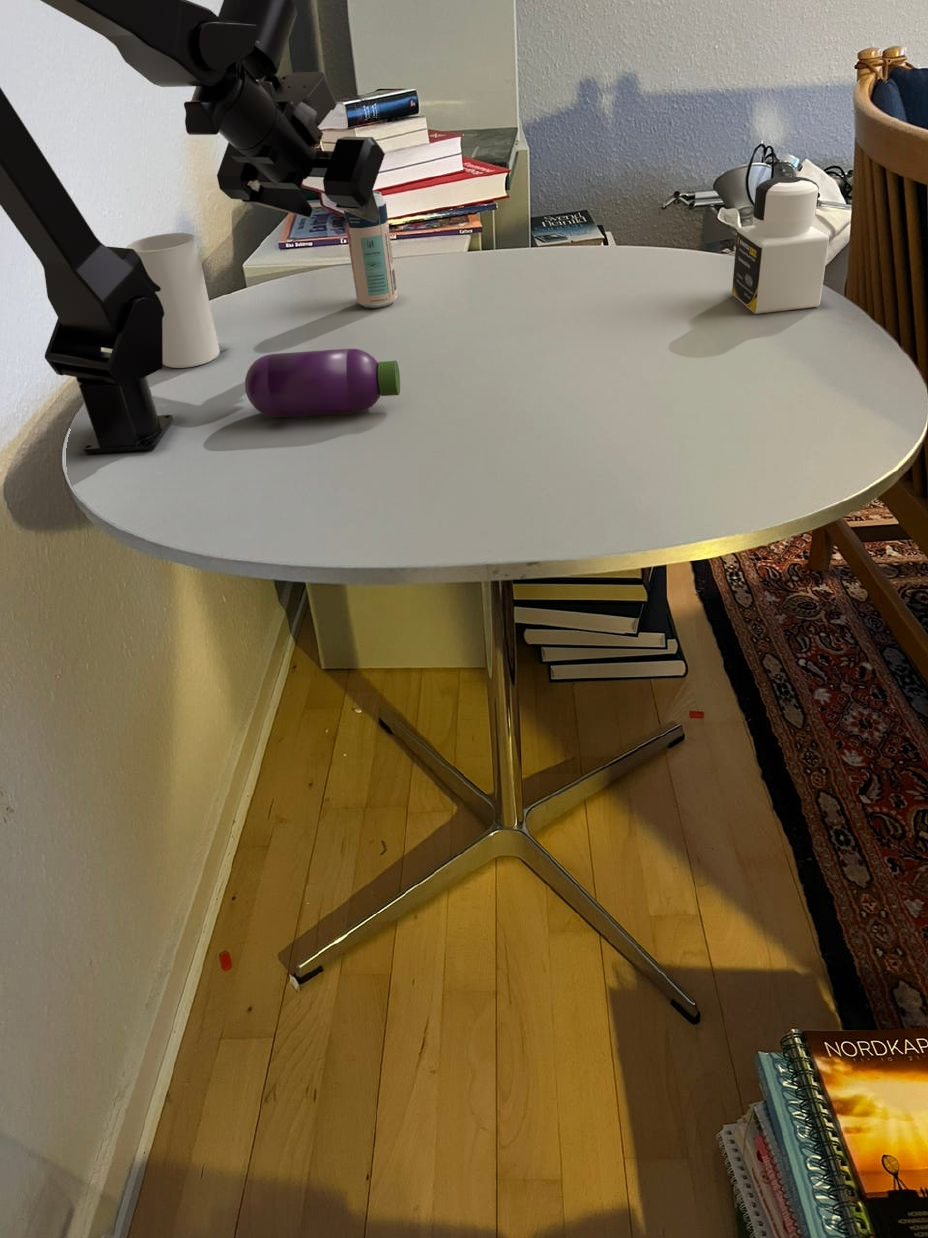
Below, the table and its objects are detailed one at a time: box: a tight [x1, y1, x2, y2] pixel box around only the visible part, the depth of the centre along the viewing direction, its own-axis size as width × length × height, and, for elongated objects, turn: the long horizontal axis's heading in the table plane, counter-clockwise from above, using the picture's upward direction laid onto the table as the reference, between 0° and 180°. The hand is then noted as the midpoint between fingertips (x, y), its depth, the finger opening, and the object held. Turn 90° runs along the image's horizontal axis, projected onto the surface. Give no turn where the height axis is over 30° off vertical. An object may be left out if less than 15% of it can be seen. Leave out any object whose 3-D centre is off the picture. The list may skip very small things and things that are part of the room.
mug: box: [126, 232, 221, 369], centre depth 100 cm, size 10×7×12 cm, turn 5°
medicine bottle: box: [731, 176, 830, 315], centre depth 98 cm, size 7×7×12 cm
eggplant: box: [244, 348, 401, 418], centre depth 85 cm, size 6×14×6 cm, turn 88°
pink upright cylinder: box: [343, 190, 398, 309], centre depth 108 cm, size 5×5×12 cm
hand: (342, 215), depth 103 cm, fingers open, 9 cm apart
